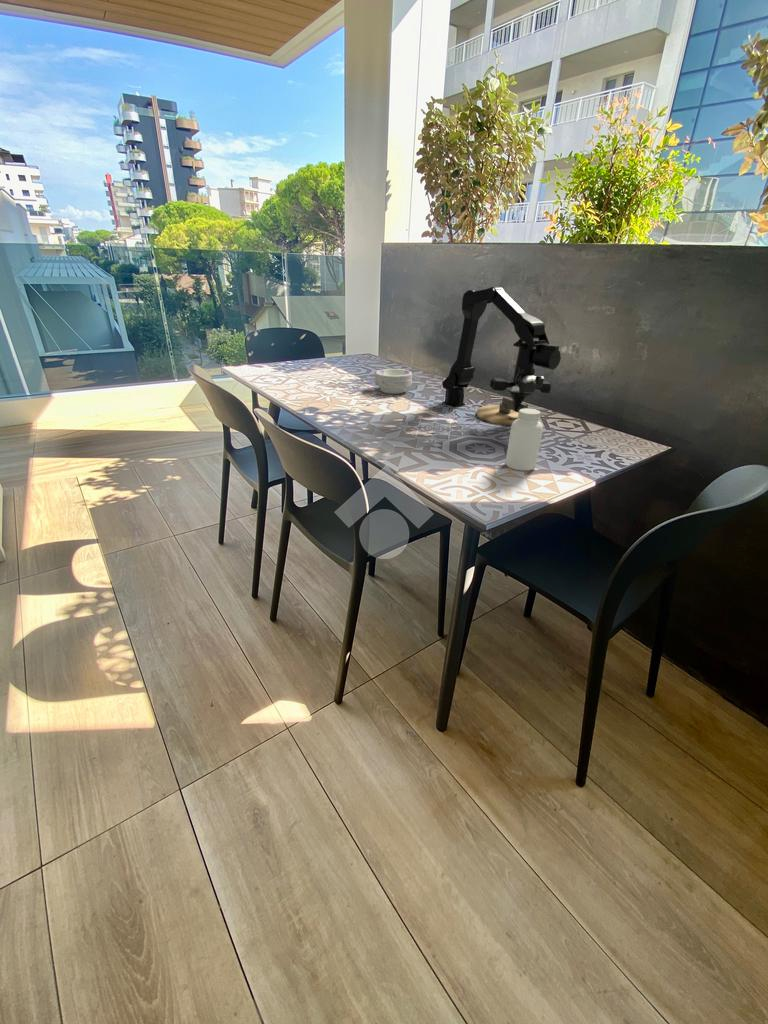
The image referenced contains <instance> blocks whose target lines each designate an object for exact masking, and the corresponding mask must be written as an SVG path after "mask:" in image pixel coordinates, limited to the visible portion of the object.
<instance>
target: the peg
mask: <svg viewBox="0 0 768 1024" xmlns="http://www.w3.org/2000/svg"><path fill="white" fill-rule="evenodd" d="M499 405H500V407H499V412H500V413H510V412H511V410H513V411H514V405H513V399H512V397H509V396H503V397H502V401H501V403H499ZM525 408H529V404H527V403H525V402H522V403H521V405H520V406H519V408H518V410H517V412H518V413H519V410H520V409H525Z"/></svg>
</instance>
